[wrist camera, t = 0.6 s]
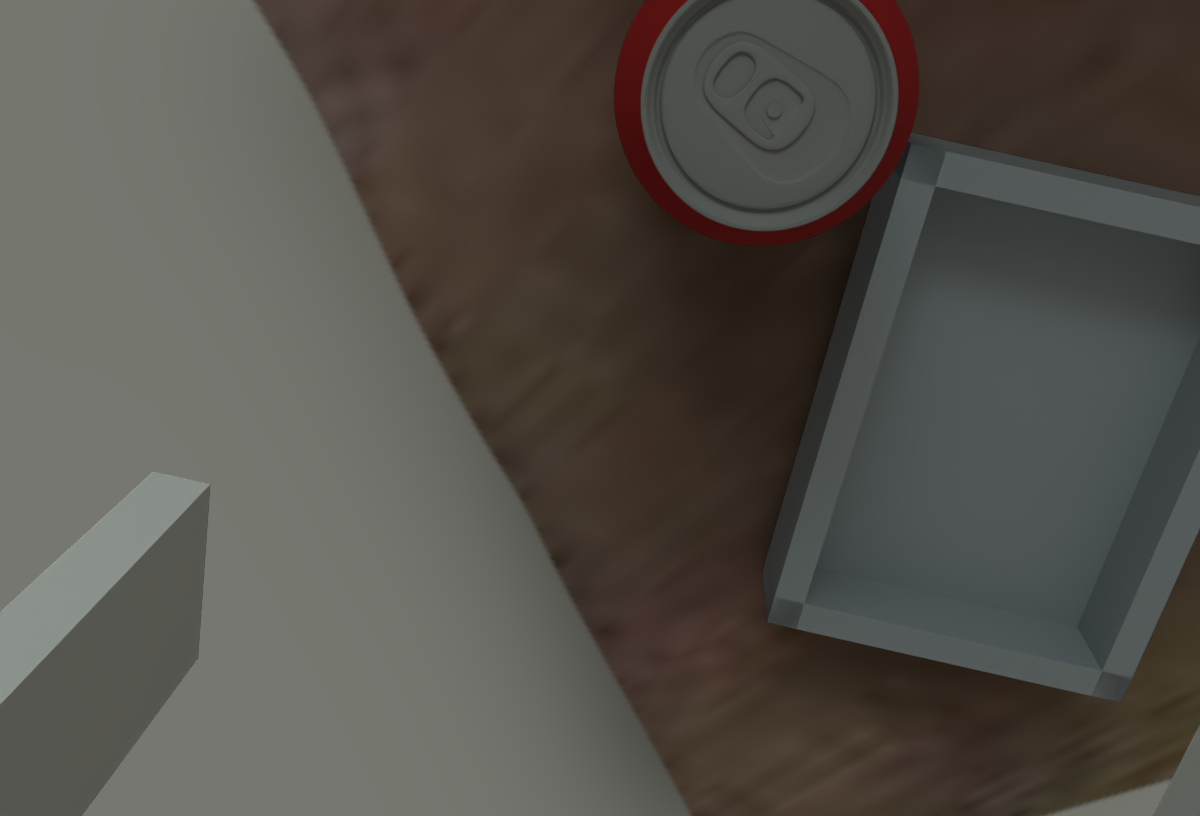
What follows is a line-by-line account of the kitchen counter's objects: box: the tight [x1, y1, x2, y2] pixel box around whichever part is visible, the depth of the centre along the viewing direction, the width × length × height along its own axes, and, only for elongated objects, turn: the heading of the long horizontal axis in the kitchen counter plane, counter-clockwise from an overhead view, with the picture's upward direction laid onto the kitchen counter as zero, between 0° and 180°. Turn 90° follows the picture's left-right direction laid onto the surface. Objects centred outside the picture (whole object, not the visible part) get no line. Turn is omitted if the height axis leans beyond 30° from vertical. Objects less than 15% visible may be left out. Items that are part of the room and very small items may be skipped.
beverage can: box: [614, 0, 919, 246], centre depth 29 cm, size 7×7×12 cm
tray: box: [762, 133, 1200, 703], centre depth 36 cm, size 16×12×4 cm
